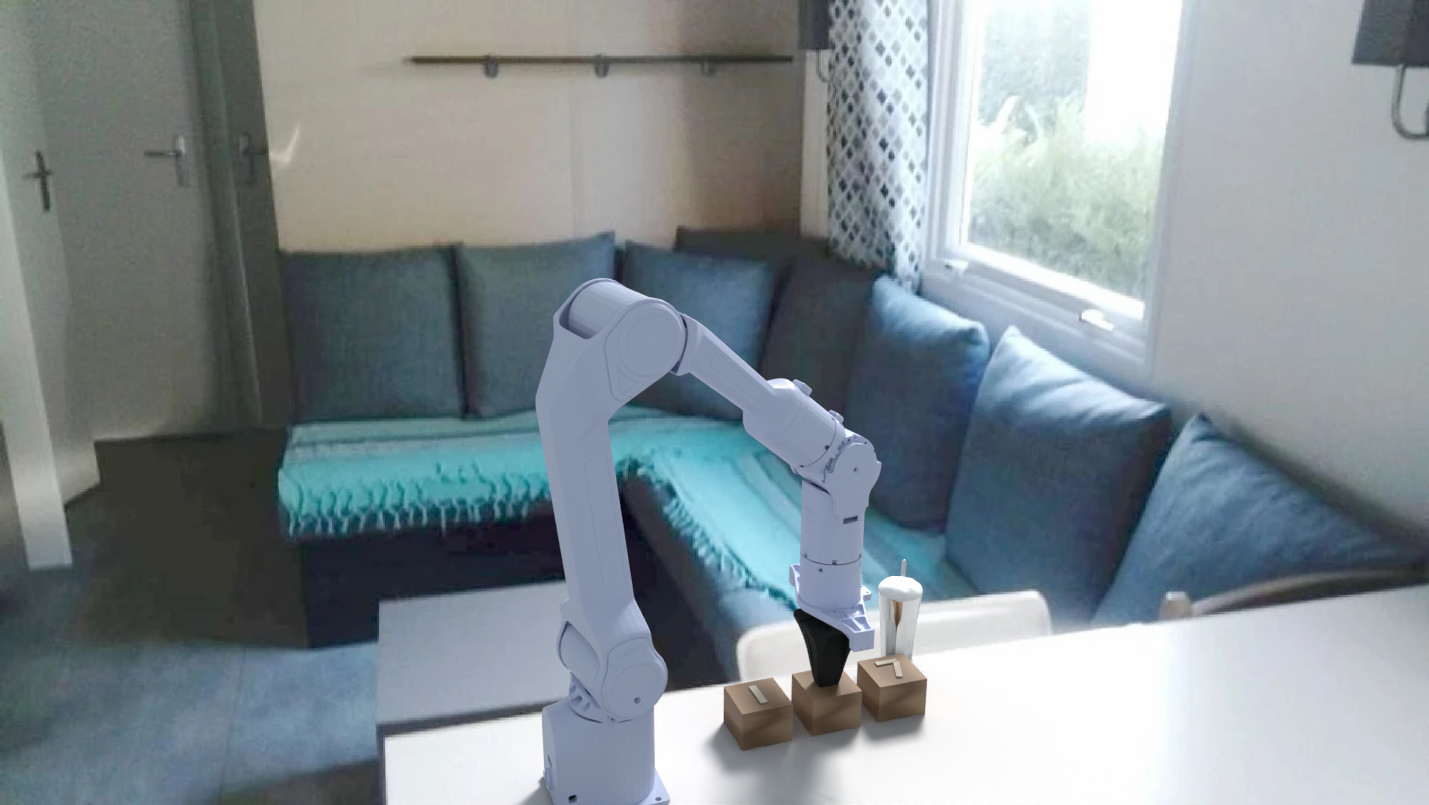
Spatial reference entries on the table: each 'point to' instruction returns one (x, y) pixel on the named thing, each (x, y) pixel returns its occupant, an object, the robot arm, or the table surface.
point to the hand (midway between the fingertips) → (826, 682)
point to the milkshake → (898, 613)
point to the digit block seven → (891, 687)
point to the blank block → (826, 704)
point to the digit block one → (758, 714)
